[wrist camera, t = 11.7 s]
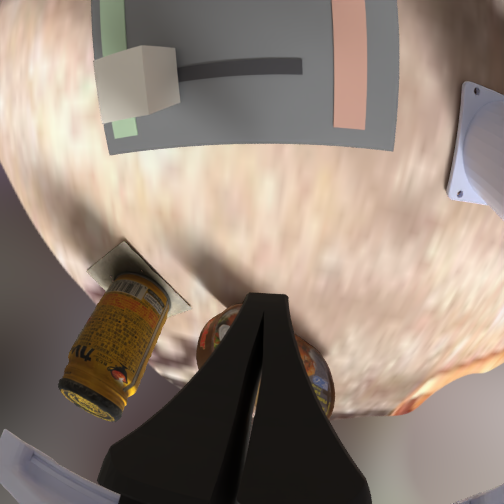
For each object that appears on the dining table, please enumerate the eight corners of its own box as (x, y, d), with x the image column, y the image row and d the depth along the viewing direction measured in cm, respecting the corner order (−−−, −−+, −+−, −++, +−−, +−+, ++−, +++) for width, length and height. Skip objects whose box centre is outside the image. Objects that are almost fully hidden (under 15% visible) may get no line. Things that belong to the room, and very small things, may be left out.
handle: (175, 48, 11) (141, 45, 8) (180, 102, 13) (149, 114, 10) (133, 57, 11) (93, 60, 8) (139, 109, 13) (102, 124, 10)
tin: (336, 363, 28) (337, 436, 21) (312, 372, 29) (310, 442, 23) (230, 282, 23) (204, 375, 16) (206, 299, 24) (177, 385, 17)
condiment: (145, 325, 28) (102, 425, 18) (87, 270, 24) (22, 367, 15) (193, 306, 25) (149, 430, 15) (126, 238, 21) (43, 359, 12)
